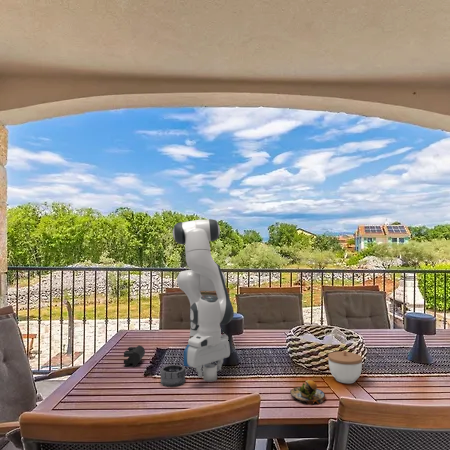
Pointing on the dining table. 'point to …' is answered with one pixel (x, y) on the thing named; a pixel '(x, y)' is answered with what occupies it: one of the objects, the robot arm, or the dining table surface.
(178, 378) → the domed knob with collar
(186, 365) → the perfume bottle
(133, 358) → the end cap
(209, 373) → the cap
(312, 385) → the burger
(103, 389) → the dining table surface
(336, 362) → the lidded bowl
